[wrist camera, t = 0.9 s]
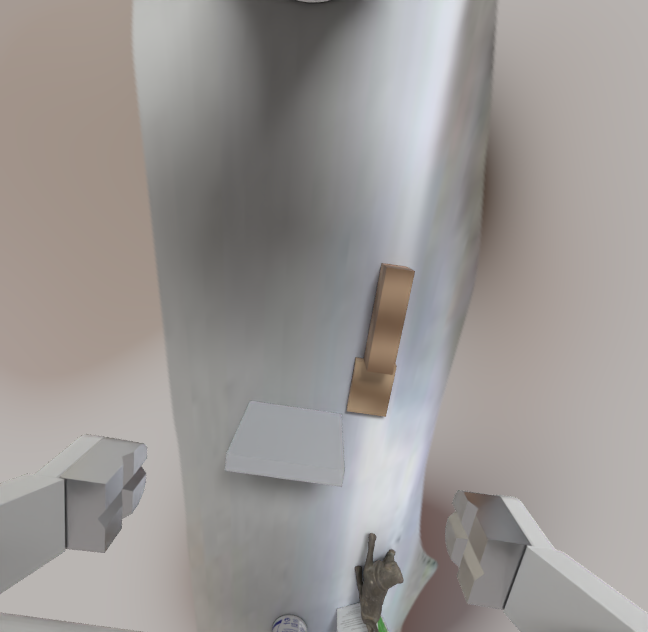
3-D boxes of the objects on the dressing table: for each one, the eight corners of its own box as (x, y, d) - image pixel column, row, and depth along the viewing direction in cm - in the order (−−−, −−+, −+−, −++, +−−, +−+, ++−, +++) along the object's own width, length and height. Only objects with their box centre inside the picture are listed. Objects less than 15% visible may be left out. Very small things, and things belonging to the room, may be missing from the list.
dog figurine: (386, 593, 54) (394, 650, 47) (348, 587, 54) (351, 643, 47) (406, 531, 51) (418, 582, 44) (367, 524, 51) (373, 574, 44)
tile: (250, 400, 46) (226, 453, 36) (341, 413, 47) (344, 470, 36) (248, 415, 47) (224, 471, 36) (338, 428, 47) (341, 488, 36)
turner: (373, 261, 42) (377, 265, 38) (415, 268, 42) (424, 272, 38) (346, 407, 46) (348, 424, 42) (384, 412, 46) (389, 429, 43)
